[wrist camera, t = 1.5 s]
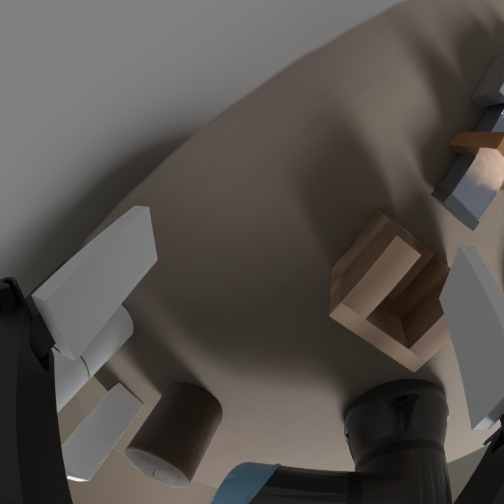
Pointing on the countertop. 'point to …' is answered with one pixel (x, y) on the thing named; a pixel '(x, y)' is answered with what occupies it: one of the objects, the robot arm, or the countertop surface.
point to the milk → (99, 433)
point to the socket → (391, 292)
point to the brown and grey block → (475, 169)
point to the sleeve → (491, 85)
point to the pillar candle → (175, 435)
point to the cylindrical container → (90, 356)
